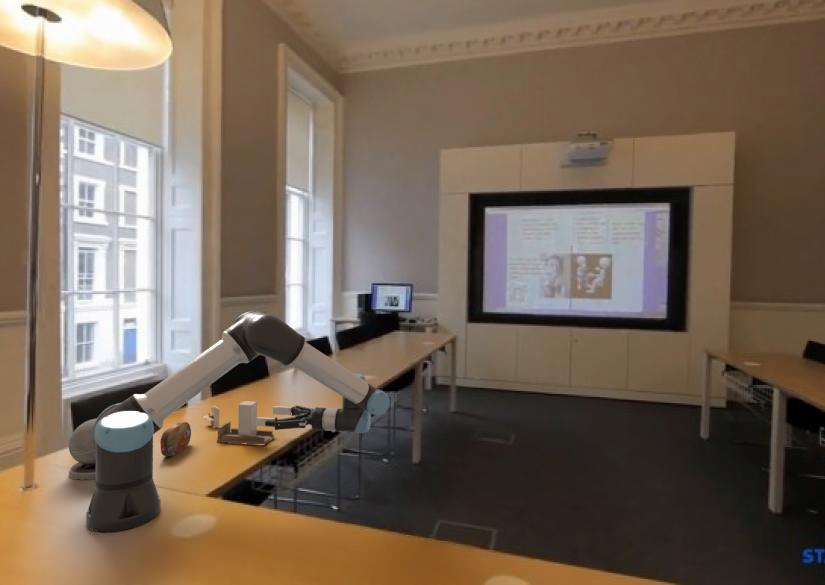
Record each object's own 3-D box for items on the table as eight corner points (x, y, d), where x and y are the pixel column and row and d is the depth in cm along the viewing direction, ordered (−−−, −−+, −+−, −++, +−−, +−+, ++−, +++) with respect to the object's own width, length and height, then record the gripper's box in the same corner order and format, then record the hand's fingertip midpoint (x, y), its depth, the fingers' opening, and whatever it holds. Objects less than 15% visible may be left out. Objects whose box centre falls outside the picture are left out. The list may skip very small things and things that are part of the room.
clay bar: (250, 439, 164) (251, 405, 164) (238, 439, 165) (238, 404, 164) (256, 435, 169) (257, 401, 168) (244, 434, 169) (244, 401, 169)
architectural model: (210, 430, 177) (210, 410, 177) (202, 425, 182) (203, 406, 182) (219, 428, 180) (219, 408, 180) (211, 424, 185) (212, 405, 184)
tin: (168, 460, 147) (168, 433, 147) (158, 460, 147) (158, 433, 147) (191, 443, 162) (192, 418, 162) (182, 443, 162) (182, 418, 162)
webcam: (119, 475, 136) (120, 423, 135) (64, 483, 130) (64, 428, 129) (123, 459, 147) (123, 411, 147) (72, 465, 141) (73, 415, 141)
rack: (264, 445, 162) (264, 431, 162) (216, 442, 164) (217, 427, 164) (274, 437, 170) (274, 423, 170) (228, 434, 172) (228, 420, 172)
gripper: (313, 442, 152) (249, 438, 154) (334, 419, 176) (279, 416, 179) (314, 419, 151) (249, 415, 154) (335, 399, 176) (279, 396, 178)
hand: (265, 415), depth 166 cm, fingers open, 13 cm apart
